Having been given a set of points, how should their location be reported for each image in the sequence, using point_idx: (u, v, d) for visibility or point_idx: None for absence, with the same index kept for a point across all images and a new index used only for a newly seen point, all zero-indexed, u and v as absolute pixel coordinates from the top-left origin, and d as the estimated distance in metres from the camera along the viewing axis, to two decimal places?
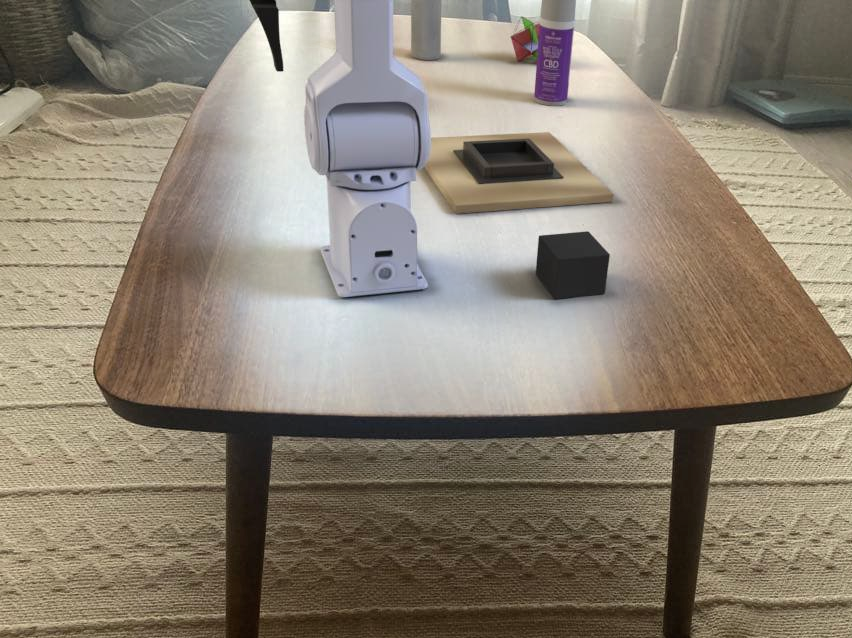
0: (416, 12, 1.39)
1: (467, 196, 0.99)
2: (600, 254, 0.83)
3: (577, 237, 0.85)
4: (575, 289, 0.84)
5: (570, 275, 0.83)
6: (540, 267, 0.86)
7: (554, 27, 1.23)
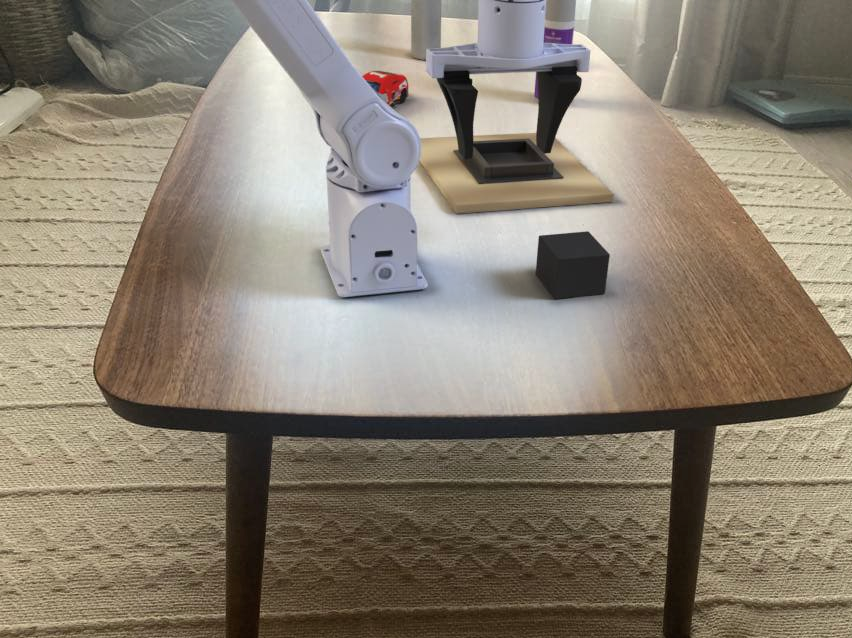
0: (416, 12, 1.39)
1: (467, 196, 0.99)
2: (600, 254, 0.83)
3: (577, 237, 0.85)
4: (575, 289, 0.84)
5: (570, 275, 0.83)
6: (540, 267, 0.86)
7: (554, 27, 1.23)
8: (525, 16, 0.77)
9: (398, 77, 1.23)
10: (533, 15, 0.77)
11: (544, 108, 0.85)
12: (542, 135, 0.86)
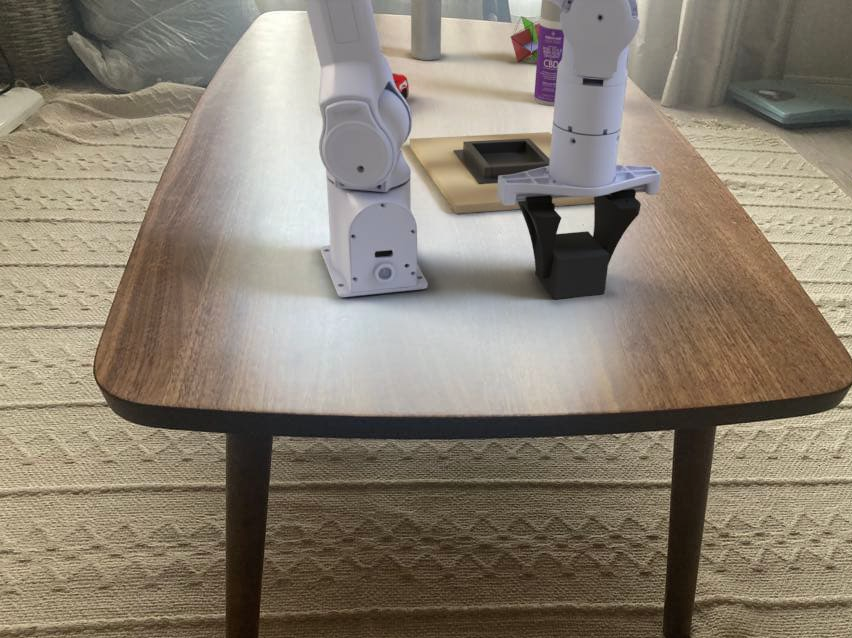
0: (416, 12, 1.39)
1: (467, 196, 0.99)
2: (600, 254, 0.83)
3: (577, 237, 0.85)
4: (575, 289, 0.84)
5: (569, 275, 0.83)
6: None
7: (554, 27, 1.23)
8: (600, 147, 0.76)
9: (398, 77, 1.23)
10: (608, 146, 0.76)
11: (601, 228, 0.84)
12: None
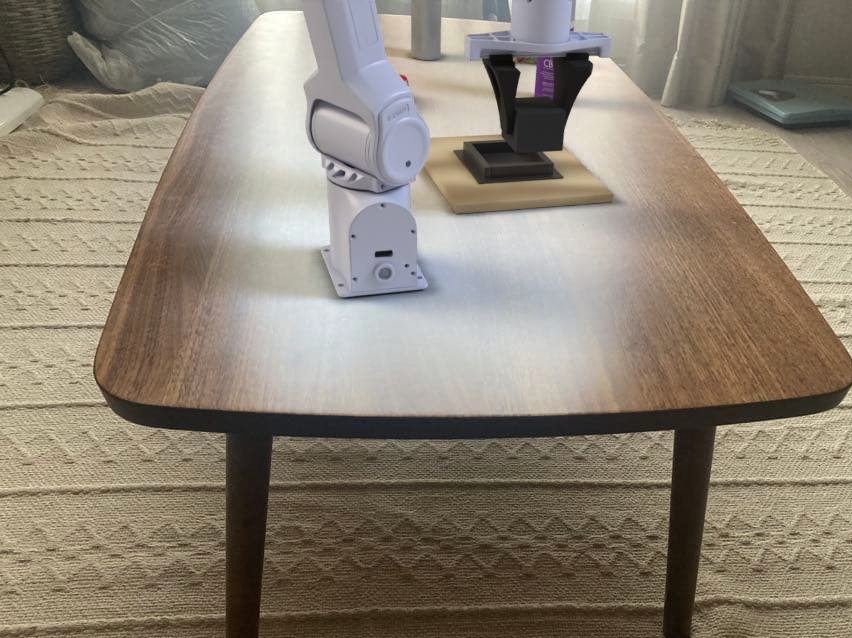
0: (416, 12, 1.39)
1: (467, 196, 0.99)
2: (557, 112, 0.92)
3: (538, 100, 0.95)
4: (535, 144, 0.93)
5: (530, 130, 0.92)
6: None
7: None
8: (554, 6, 0.86)
9: None
10: (561, 5, 0.86)
11: (559, 90, 0.94)
12: None
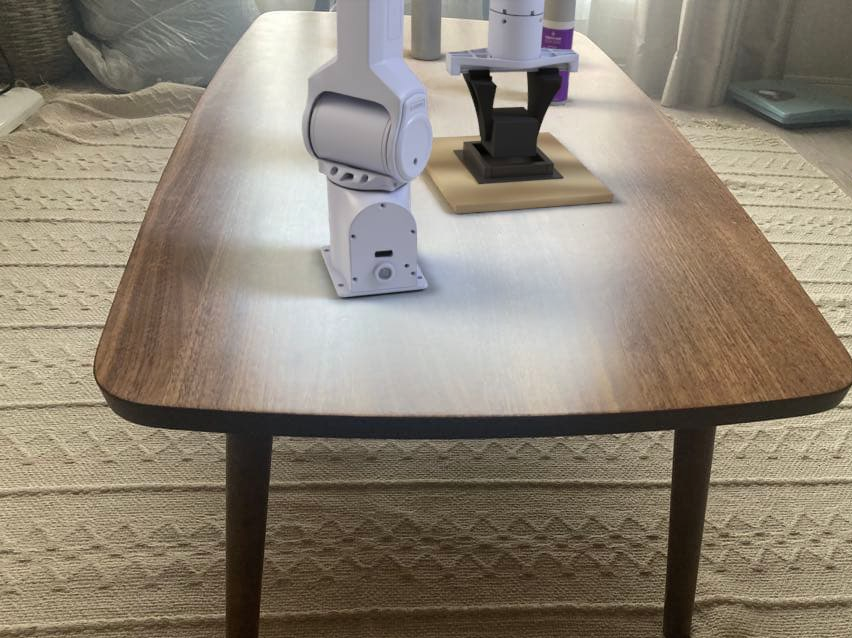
0: (416, 12, 1.39)
1: (467, 196, 0.99)
2: (530, 121, 1.02)
3: (513, 110, 1.05)
4: (511, 150, 1.03)
5: (506, 137, 1.02)
6: None
7: (554, 27, 1.23)
8: (526, 26, 0.96)
9: None
10: (532, 26, 0.96)
11: (532, 101, 1.04)
12: None
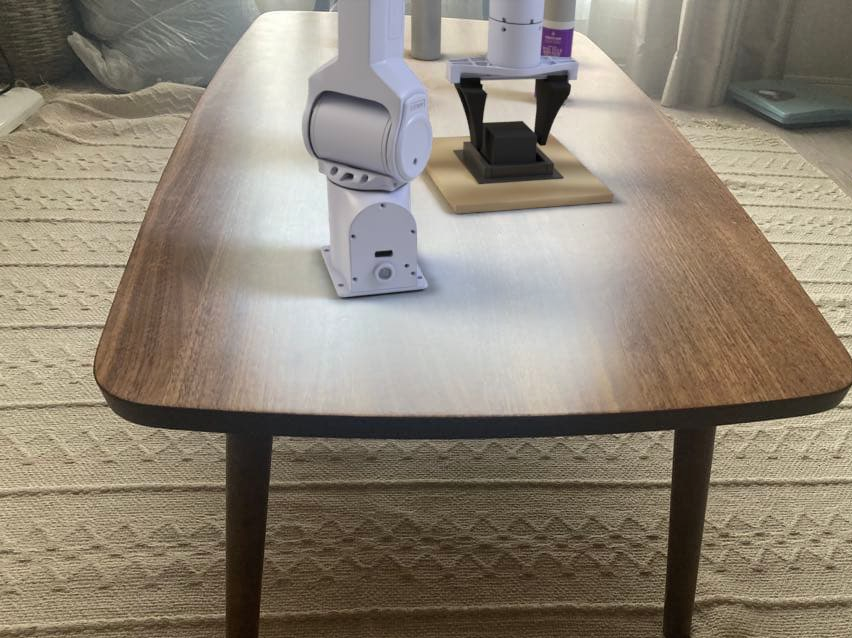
0: (416, 12, 1.39)
1: (467, 196, 0.99)
2: (529, 135, 1.03)
3: (512, 124, 1.06)
4: None
5: (505, 152, 1.03)
6: (483, 149, 1.06)
7: (554, 27, 1.23)
8: (525, 35, 0.96)
9: None
10: (532, 34, 0.97)
11: (541, 108, 1.05)
12: (539, 130, 1.06)
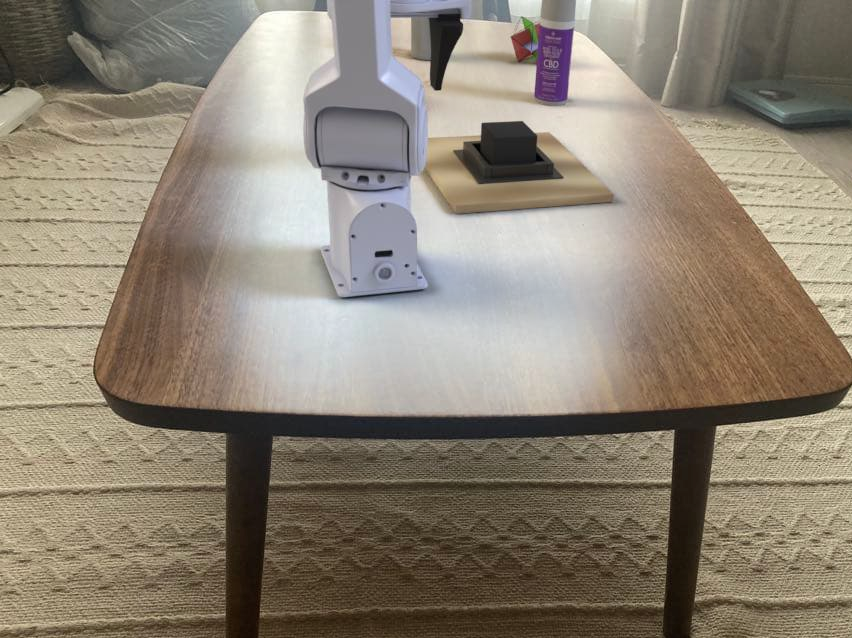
0: None
1: (467, 196, 0.99)
2: (529, 135, 1.03)
3: (512, 124, 1.06)
4: None
5: (505, 152, 1.03)
6: (483, 149, 1.06)
7: (554, 27, 1.23)
8: None
9: None
10: None
11: (434, 50, 0.99)
12: (433, 74, 1.00)
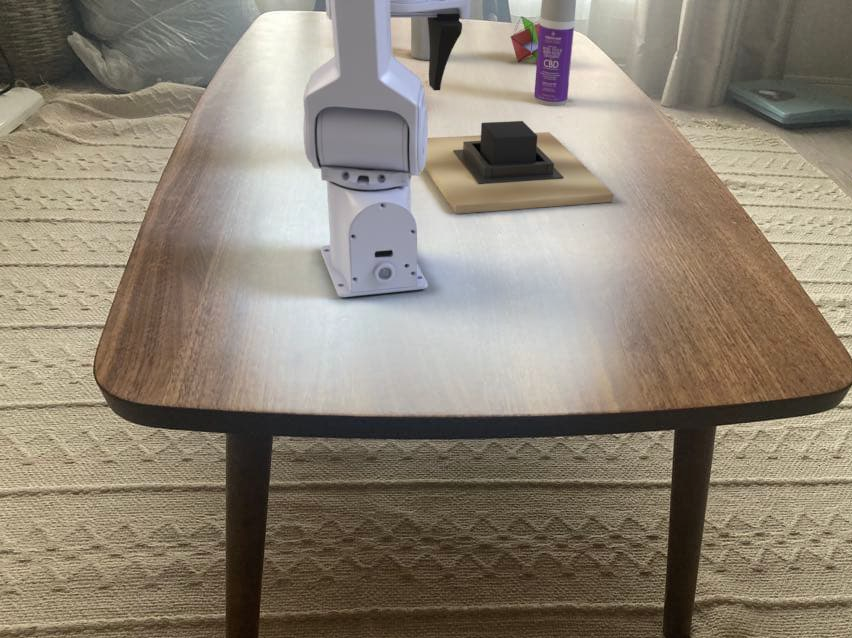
0: None
1: (467, 196, 0.99)
2: (529, 135, 1.03)
3: (512, 124, 1.06)
4: None
5: (505, 152, 1.03)
6: (483, 149, 1.06)
7: (554, 27, 1.23)
8: None
9: None
10: None
11: (433, 50, 0.99)
12: (432, 74, 1.00)
